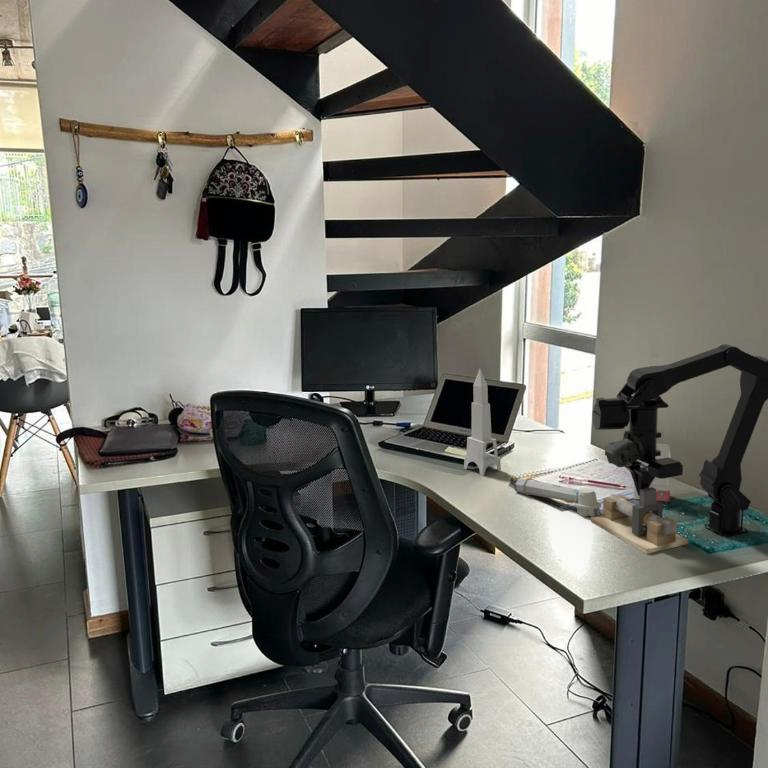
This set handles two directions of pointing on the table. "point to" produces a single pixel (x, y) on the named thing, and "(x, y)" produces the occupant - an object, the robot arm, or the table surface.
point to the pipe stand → (658, 528)
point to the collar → (645, 510)
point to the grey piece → (561, 495)
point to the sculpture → (481, 429)
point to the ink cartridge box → (658, 483)
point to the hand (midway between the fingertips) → (641, 495)
